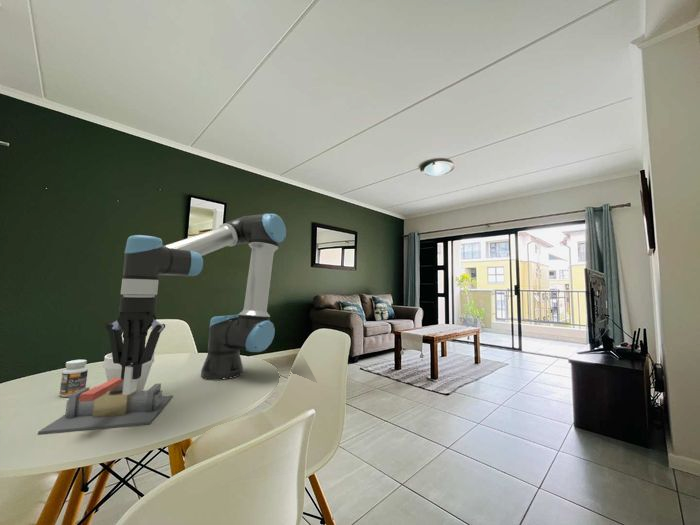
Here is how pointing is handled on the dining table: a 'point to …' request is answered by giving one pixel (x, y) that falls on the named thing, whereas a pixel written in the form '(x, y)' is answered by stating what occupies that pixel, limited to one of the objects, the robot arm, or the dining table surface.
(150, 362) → the cup
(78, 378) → the pill bottle
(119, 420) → the mat
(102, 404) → the valve
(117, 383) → the lever
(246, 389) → the dining table surface
